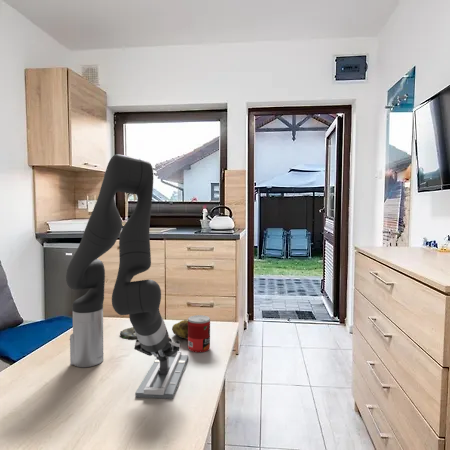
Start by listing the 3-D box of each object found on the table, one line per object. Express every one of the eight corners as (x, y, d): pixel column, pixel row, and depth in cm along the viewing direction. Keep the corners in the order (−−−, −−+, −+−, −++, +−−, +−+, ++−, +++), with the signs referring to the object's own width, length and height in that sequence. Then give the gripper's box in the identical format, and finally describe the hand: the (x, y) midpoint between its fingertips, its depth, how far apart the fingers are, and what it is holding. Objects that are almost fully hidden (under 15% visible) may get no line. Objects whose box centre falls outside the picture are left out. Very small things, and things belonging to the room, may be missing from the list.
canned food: (207, 353, 121) (207, 322, 121) (185, 352, 123) (185, 320, 122) (212, 345, 129) (212, 315, 128) (191, 343, 130) (191, 314, 130)
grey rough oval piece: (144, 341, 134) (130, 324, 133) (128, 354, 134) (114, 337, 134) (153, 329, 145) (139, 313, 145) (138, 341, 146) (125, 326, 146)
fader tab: (158, 374, 103) (158, 340, 102) (160, 369, 106) (160, 336, 105) (167, 374, 102) (167, 340, 102) (170, 370, 105) (170, 336, 105)
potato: (192, 332, 143) (192, 312, 142) (197, 344, 130) (197, 322, 130) (171, 334, 140) (171, 314, 140) (175, 346, 128) (175, 324, 128)
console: (134, 398, 92) (134, 389, 92) (159, 357, 118) (158, 350, 118) (172, 399, 92) (172, 390, 92) (188, 358, 118) (188, 351, 117)
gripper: (179, 318, 92) (186, 346, 105) (129, 316, 93) (143, 345, 105) (174, 346, 87) (183, 372, 99) (122, 344, 88) (137, 370, 100)
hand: (162, 358), depth 102 cm, fingers closed
